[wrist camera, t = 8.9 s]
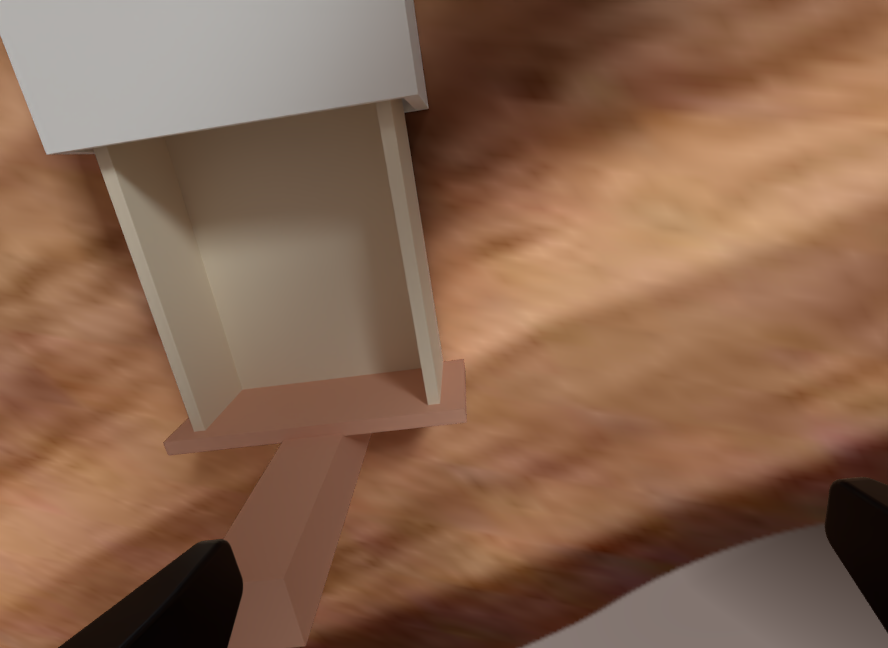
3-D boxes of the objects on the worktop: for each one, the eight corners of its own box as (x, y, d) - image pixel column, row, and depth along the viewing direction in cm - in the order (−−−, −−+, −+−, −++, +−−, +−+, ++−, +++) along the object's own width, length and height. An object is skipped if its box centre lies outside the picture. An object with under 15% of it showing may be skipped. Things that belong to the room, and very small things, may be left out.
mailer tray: (405, -49, 15) (320, -369, 6) (471, 412, 20) (481, 632, 11) (94, 9, 15) (-425, -194, 6) (234, 439, 21) (58, 665, 12)
